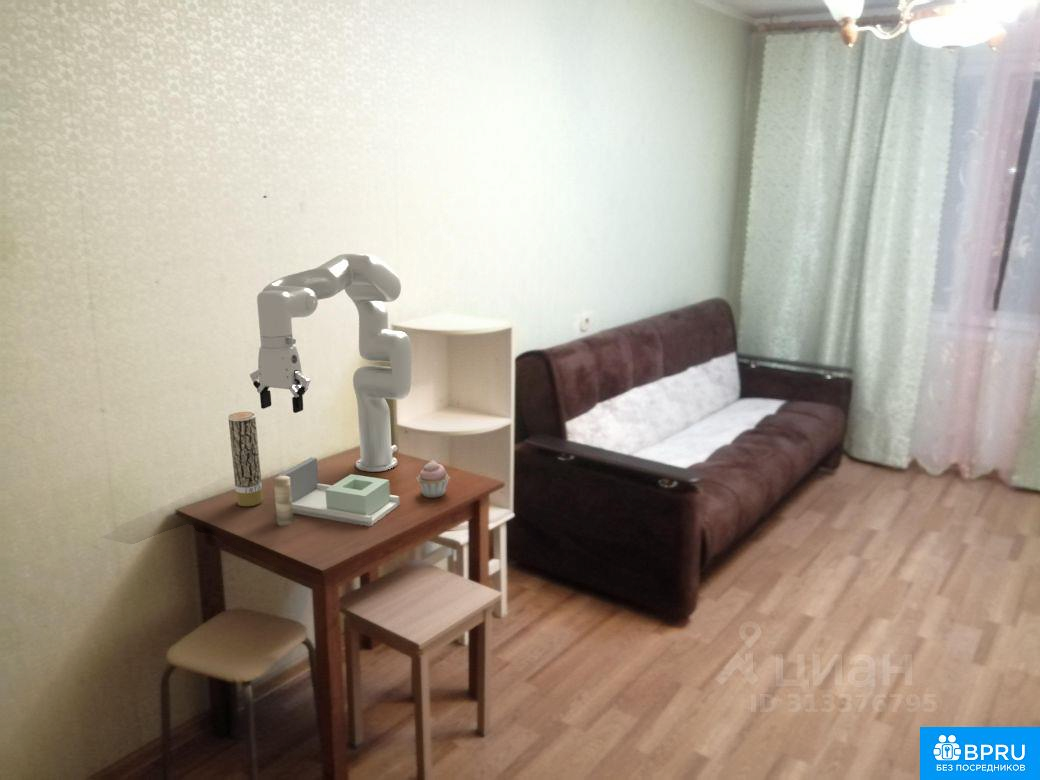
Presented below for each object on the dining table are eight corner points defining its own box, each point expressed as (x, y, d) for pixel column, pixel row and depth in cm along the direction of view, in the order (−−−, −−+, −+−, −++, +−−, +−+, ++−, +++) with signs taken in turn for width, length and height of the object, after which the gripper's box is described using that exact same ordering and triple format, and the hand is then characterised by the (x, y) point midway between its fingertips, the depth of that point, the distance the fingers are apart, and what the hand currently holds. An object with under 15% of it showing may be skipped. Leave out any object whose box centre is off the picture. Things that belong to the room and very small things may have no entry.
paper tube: (231, 504, 214) (222, 417, 207) (249, 496, 219) (241, 410, 213) (250, 509, 211) (241, 420, 204) (268, 500, 217) (260, 413, 210)
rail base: (313, 490, 223) (310, 457, 221) (399, 504, 214) (398, 470, 211) (279, 510, 210) (276, 475, 207) (370, 526, 200) (368, 490, 198)
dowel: (283, 517, 205) (280, 474, 202) (296, 520, 204) (293, 477, 201) (273, 523, 202) (270, 480, 199) (286, 526, 200) (283, 482, 197)
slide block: (352, 494, 217) (350, 474, 215) (390, 500, 213) (389, 479, 211) (326, 510, 206) (325, 489, 204) (366, 517, 202) (365, 496, 200)
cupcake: (450, 486, 226) (449, 454, 224) (450, 499, 217) (449, 465, 215) (417, 487, 226) (416, 455, 223) (416, 500, 217) (414, 466, 214)
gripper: (315, 341, 191) (320, 409, 195) (258, 336, 197) (264, 402, 202) (296, 347, 184) (301, 417, 189) (237, 342, 190) (244, 409, 195)
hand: (282, 409), depth 195 cm, fingers open, 9 cm apart
